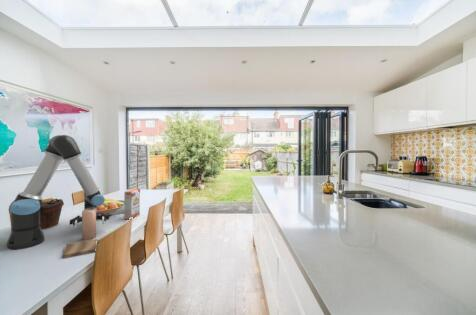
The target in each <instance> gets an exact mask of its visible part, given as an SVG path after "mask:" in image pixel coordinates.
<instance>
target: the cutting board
mask: <svg viewBox="0 0 476 315" xmlns="http://www.w3.org/2000/svg"><path fill="white" fill-rule="evenodd" d="M96 241H97V242H98V238H94V239H90V240H83V241H78V242H71V243H67V244H65V247H64V249H63V253H62V259H66V258H71V257H76V256H82V255H87V254H91V253H96V252H95V249H96Z"/></svg>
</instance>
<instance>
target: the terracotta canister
mask: <svg viewBox="0 0 476 315" xmlns="http://www.w3.org/2000/svg"><path fill="white" fill-rule="evenodd" d="M81 217H82V222H81V240H83V241H89V240H94V239H96V238H97V220H96V210H95V209H89V210H82V211H81Z"/></svg>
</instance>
